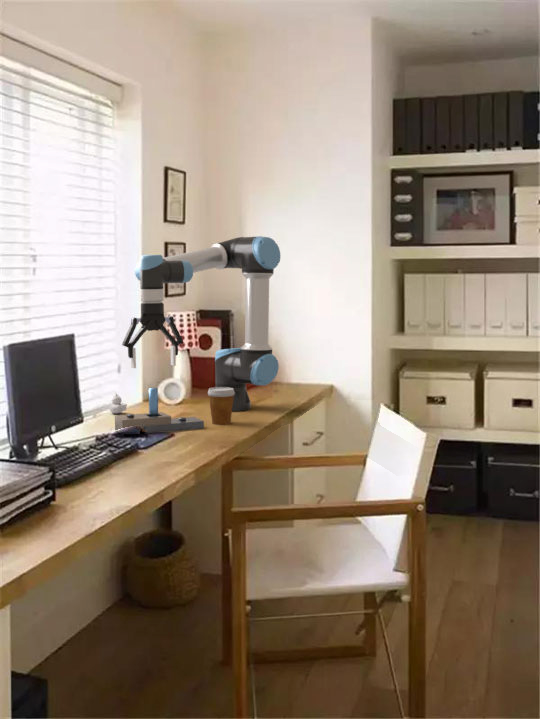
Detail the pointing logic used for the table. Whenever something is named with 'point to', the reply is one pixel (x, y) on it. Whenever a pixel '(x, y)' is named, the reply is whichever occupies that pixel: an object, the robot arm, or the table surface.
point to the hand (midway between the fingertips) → (153, 366)
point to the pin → (153, 402)
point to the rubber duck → (117, 405)
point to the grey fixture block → (158, 422)
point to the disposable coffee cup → (221, 404)
